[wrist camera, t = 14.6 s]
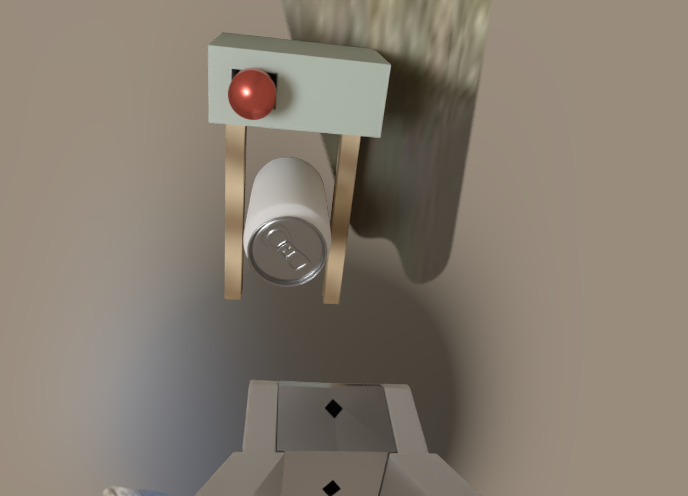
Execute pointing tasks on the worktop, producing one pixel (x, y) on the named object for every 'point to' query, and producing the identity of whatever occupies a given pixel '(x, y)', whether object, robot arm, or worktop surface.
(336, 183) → the rails
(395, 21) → the worktop surface
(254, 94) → the plunger
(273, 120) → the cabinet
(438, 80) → the worktop surface
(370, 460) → the robot arm
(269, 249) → the can
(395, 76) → the worktop surface
